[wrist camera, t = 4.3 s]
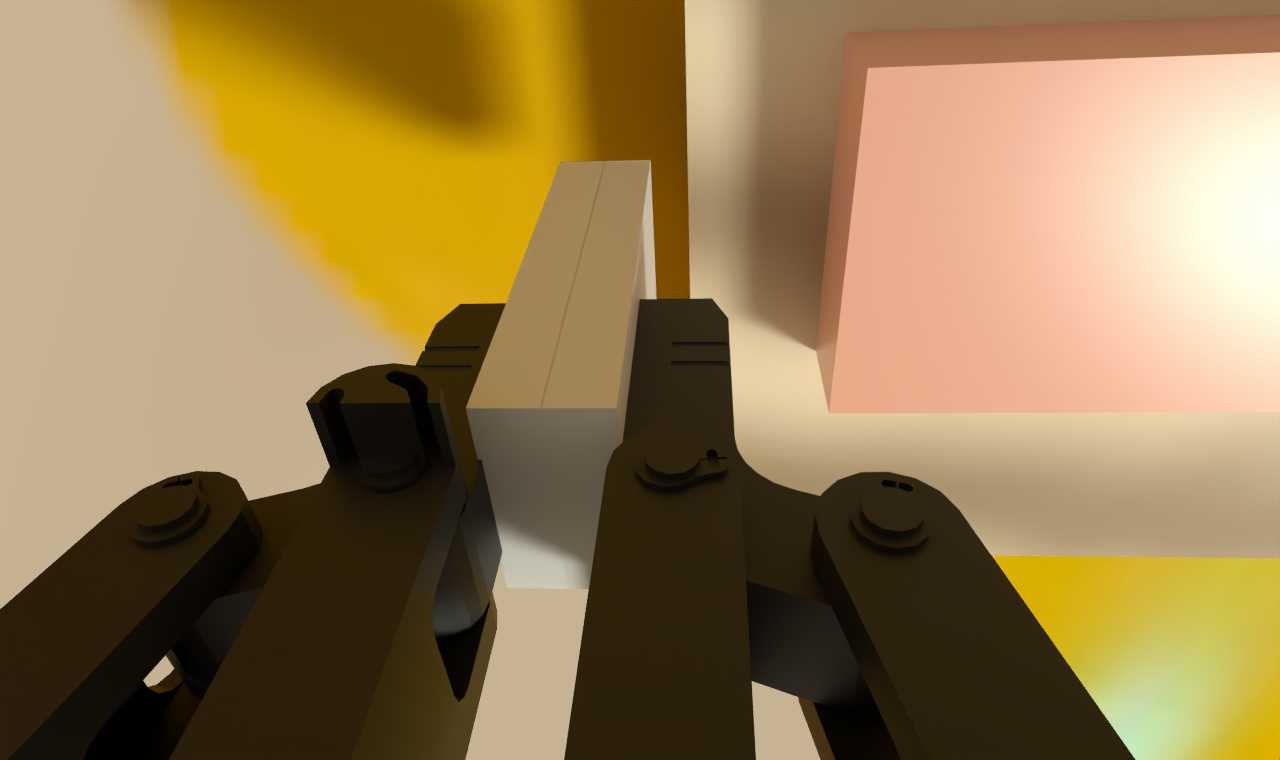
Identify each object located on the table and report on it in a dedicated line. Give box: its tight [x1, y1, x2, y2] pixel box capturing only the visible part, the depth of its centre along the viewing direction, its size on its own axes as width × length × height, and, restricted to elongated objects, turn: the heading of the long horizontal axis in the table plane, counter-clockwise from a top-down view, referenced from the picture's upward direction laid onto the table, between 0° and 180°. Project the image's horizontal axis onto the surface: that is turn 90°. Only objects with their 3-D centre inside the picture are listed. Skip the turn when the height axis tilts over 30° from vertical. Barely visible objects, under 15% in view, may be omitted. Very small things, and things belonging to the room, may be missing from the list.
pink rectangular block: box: [816, 15, 1280, 413], centre depth 13 cm, size 9×6×2 cm, turn 93°
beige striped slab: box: [685, 0, 1280, 558], centre depth 15 cm, size 18×16×3 cm
